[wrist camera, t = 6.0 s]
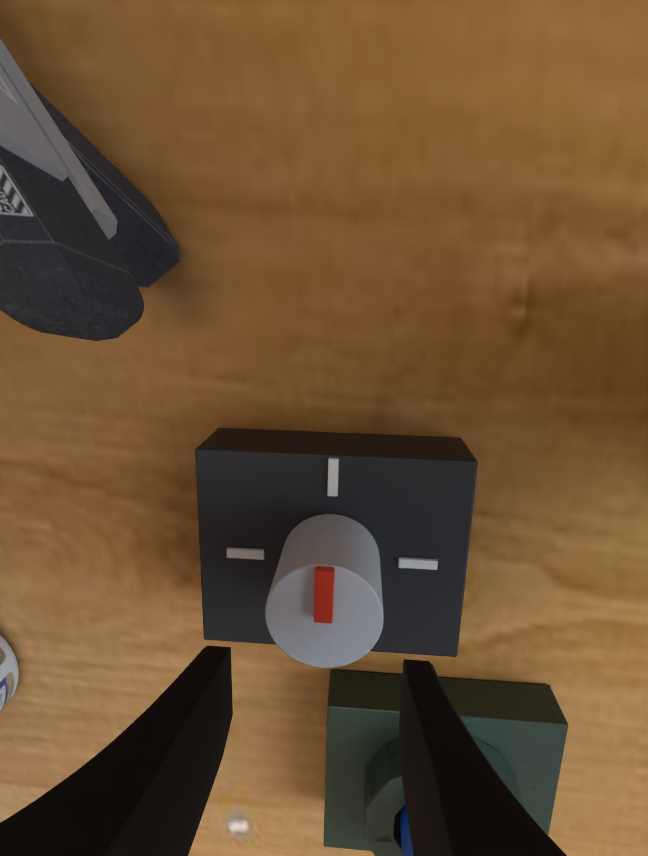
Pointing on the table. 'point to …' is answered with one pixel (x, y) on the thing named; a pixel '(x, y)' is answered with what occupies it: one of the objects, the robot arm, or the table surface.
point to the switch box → (380, 751)
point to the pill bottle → (7, 673)
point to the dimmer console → (342, 495)
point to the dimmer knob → (326, 593)
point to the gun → (69, 224)
